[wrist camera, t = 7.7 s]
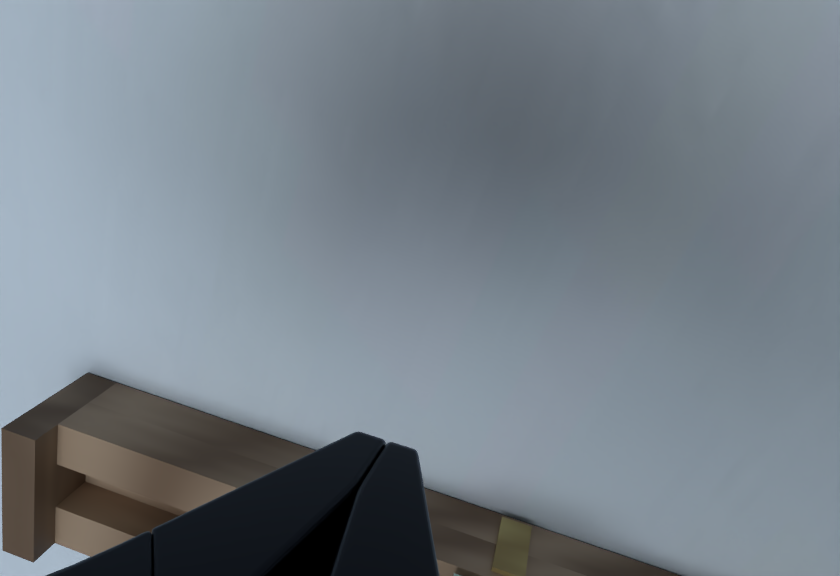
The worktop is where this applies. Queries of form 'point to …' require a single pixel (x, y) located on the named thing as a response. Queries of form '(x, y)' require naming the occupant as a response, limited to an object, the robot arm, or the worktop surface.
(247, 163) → the worktop surface
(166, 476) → the rail
